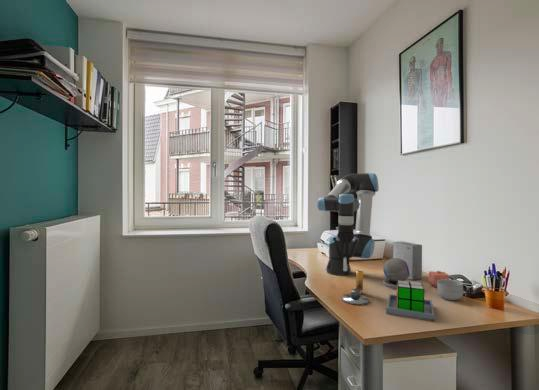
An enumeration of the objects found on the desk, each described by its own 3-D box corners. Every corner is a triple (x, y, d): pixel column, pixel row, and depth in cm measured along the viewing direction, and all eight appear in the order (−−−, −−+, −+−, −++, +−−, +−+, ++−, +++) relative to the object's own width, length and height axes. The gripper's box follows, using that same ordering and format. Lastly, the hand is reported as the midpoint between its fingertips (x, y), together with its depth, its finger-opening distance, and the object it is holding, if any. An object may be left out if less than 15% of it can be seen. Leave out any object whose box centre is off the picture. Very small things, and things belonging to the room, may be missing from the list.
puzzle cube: (421, 305, 133) (421, 282, 133) (424, 313, 124) (424, 289, 123) (396, 302, 136) (396, 280, 136) (397, 310, 127) (397, 286, 127)
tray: (389, 299, 142) (389, 294, 142) (431, 306, 134) (431, 300, 134) (386, 313, 126) (386, 307, 126) (434, 321, 118) (434, 314, 118)
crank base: (344, 294, 149) (344, 292, 149) (370, 298, 144) (370, 295, 144) (339, 302, 138) (339, 299, 138) (367, 306, 133) (367, 304, 133)
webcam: (411, 290, 155) (412, 261, 155) (385, 288, 158) (385, 260, 158) (405, 283, 168) (406, 256, 168) (381, 281, 170) (381, 255, 170)
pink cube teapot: (436, 290, 156) (436, 274, 156) (427, 283, 168) (427, 268, 168) (452, 290, 155) (452, 274, 155) (442, 283, 167) (442, 268, 167)
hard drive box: (422, 279, 176) (422, 244, 175) (412, 280, 173) (412, 245, 173) (401, 272, 190) (402, 240, 190) (392, 273, 187) (392, 241, 187)
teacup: (454, 304, 137) (454, 286, 137) (431, 296, 146) (431, 280, 146) (471, 299, 143) (472, 282, 143) (449, 292, 153) (449, 276, 153)
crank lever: (359, 299, 138) (359, 279, 138) (350, 297, 140) (350, 278, 140) (364, 289, 152) (364, 271, 152) (355, 288, 154) (356, 270, 154)
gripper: (360, 224, 155) (359, 270, 155) (334, 223, 160) (334, 267, 160) (357, 225, 148) (357, 273, 148) (331, 224, 153) (330, 270, 153)
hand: (345, 270), depth 154 cm, fingers closed
